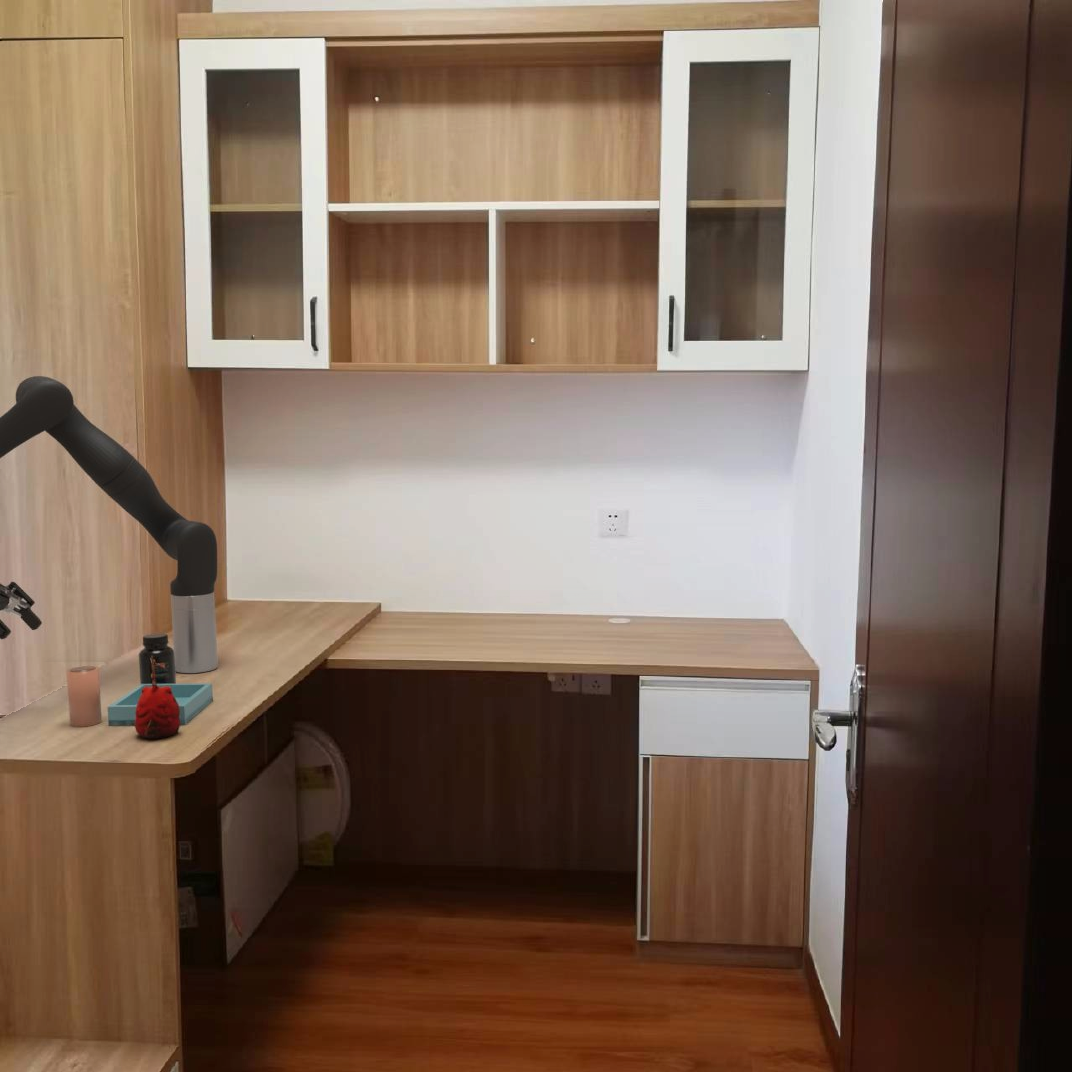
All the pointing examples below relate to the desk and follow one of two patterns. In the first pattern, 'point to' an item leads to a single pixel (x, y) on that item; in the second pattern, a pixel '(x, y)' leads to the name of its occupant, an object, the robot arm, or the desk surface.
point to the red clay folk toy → (157, 710)
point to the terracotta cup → (84, 696)
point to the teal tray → (186, 695)
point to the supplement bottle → (157, 660)
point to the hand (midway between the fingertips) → (22, 631)
